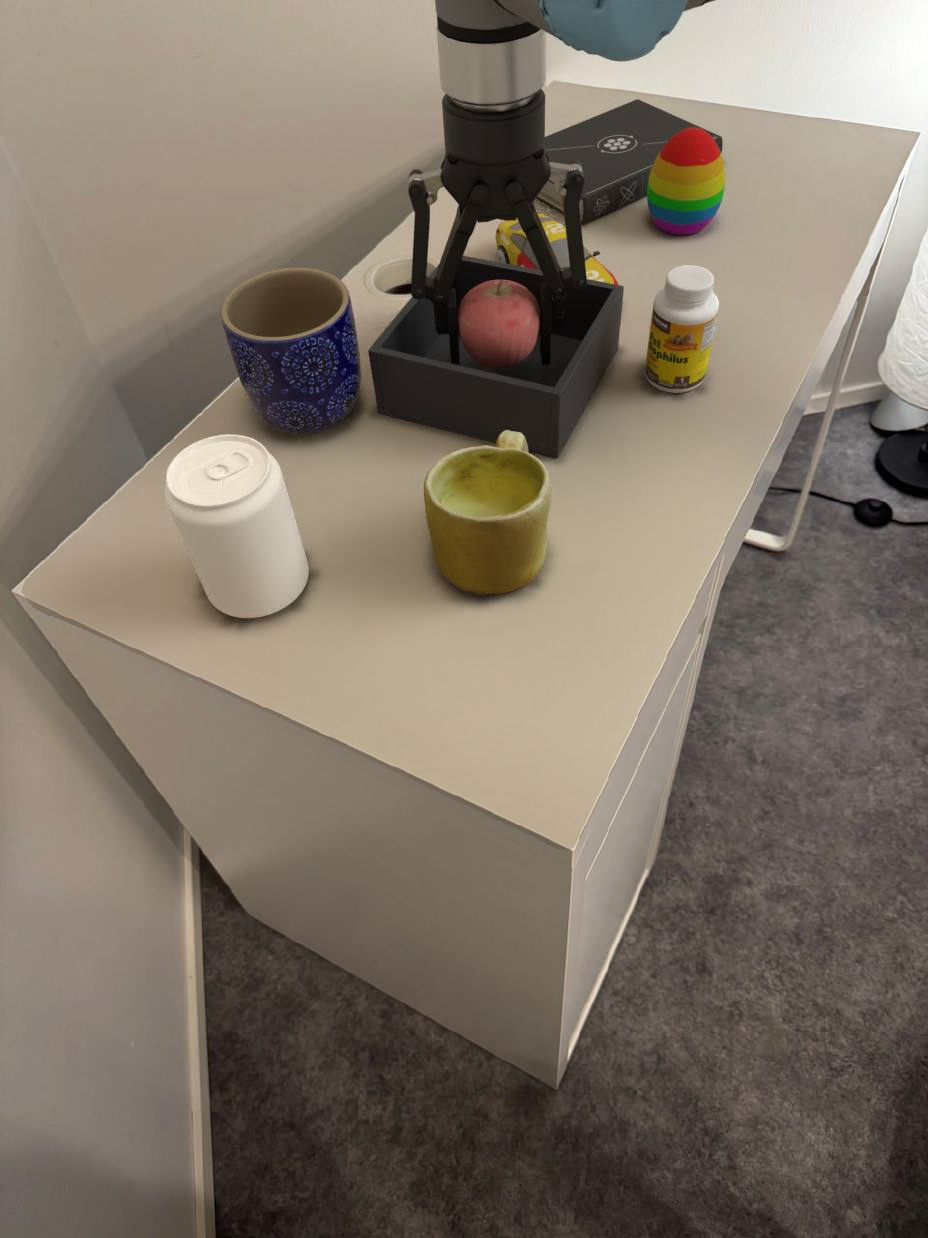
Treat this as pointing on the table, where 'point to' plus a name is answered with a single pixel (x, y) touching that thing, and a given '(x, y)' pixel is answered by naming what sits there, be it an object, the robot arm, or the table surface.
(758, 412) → the table surface
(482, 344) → the apple
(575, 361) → the dark grey open box
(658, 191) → the decorative egg
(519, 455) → the mug
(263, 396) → the planter
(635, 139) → the book
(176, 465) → the beverage can
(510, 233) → the toy car
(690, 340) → the supplement bottle
